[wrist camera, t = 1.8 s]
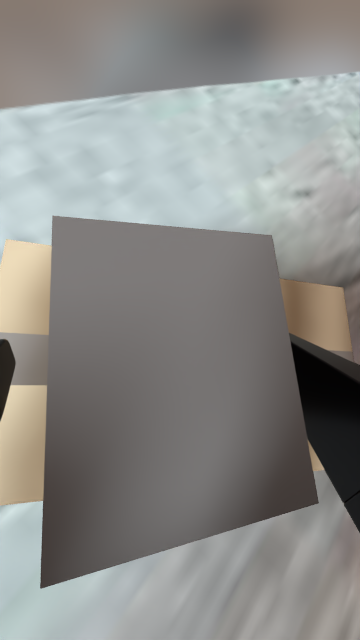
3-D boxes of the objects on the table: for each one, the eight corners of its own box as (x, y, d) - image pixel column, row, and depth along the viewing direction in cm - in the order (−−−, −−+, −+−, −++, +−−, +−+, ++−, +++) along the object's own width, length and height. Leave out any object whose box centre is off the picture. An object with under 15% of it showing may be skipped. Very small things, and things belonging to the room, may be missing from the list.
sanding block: (193, 419, 12) (318, 503, 5) (94, 435, 11) (40, 589, 3) (184, 311, 13) (271, 235, 6) (94, 313, 12) (52, 215, 4)
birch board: (310, 299, 20) (343, 287, 17) (327, 449, 17) (368, 465, 14) (28, 264, 14) (6, 239, 12) (-11, 477, 12) (-52, 511, 9)
